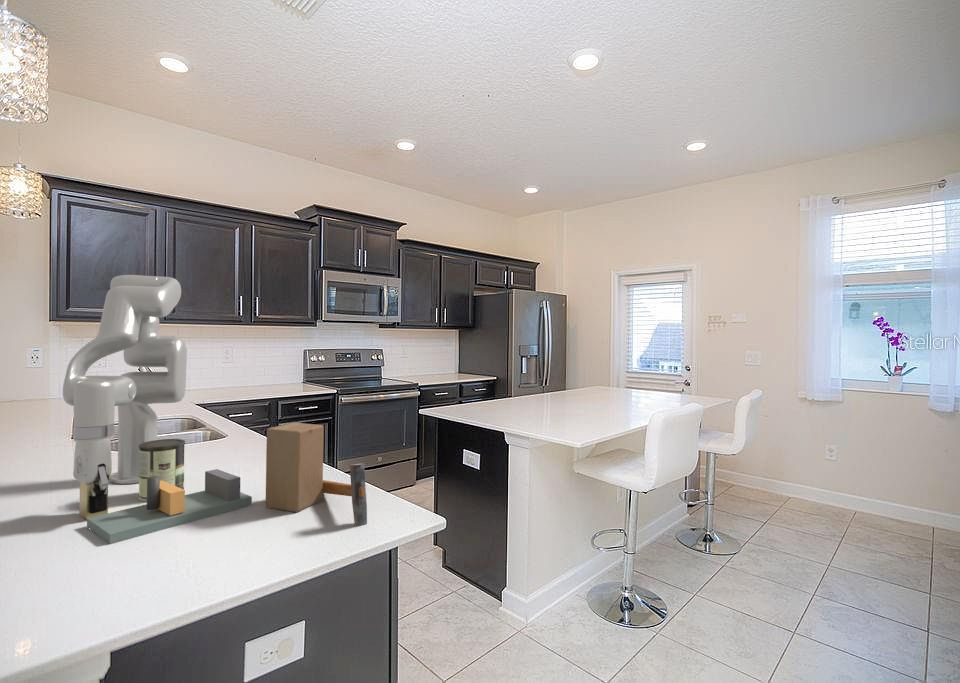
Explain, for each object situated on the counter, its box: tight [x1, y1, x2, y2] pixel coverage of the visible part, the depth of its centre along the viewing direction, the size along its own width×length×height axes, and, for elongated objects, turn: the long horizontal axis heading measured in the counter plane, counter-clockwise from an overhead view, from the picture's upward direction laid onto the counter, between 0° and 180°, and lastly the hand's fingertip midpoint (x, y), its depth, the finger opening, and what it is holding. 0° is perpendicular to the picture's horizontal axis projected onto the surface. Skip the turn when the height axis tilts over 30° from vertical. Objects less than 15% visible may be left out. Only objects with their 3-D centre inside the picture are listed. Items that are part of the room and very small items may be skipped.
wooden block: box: [265, 422, 325, 513], centre depth 124 cm, size 10×10×20 cm
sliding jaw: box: [146, 476, 186, 515], centre depth 112 cm, size 12×5×8 cm, turn 55°
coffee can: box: [138, 438, 186, 502], centre depth 128 cm, size 10×10×14 cm
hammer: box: [322, 463, 368, 527], centre depth 123 cm, size 14×2×30 cm
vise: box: [86, 468, 253, 545], centre depth 115 cm, size 14×30×7 cm, turn 145°
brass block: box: [79, 479, 109, 520], centre depth 113 cm, size 5×4×8 cm
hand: (93, 507), depth 113 cm, fingers closed on brass block, 5 cm apart
